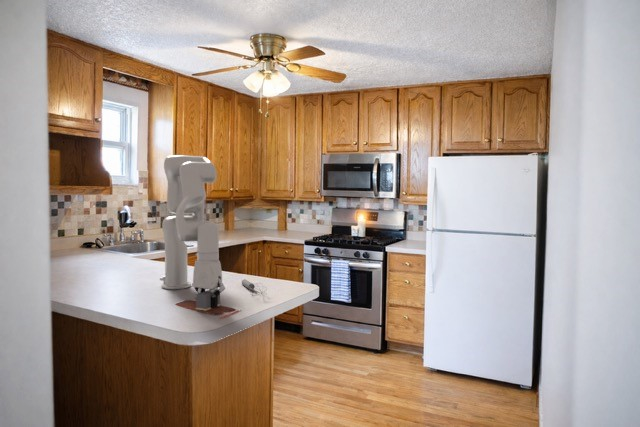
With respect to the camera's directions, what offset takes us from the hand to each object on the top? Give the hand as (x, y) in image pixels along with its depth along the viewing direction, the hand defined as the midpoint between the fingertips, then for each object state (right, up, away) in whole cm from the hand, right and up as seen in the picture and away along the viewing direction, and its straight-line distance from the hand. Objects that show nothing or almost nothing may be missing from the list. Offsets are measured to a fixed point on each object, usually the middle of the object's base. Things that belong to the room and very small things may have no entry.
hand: (208, 305), depth 162 cm
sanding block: (0, 0, 0) cm, 0 cm away
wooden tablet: (-3, -2, +4) cm, 5 cm away
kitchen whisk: (+11, 0, +28) cm, 30 cm away
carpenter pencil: (+9, -2, -7) cm, 11 cm away
